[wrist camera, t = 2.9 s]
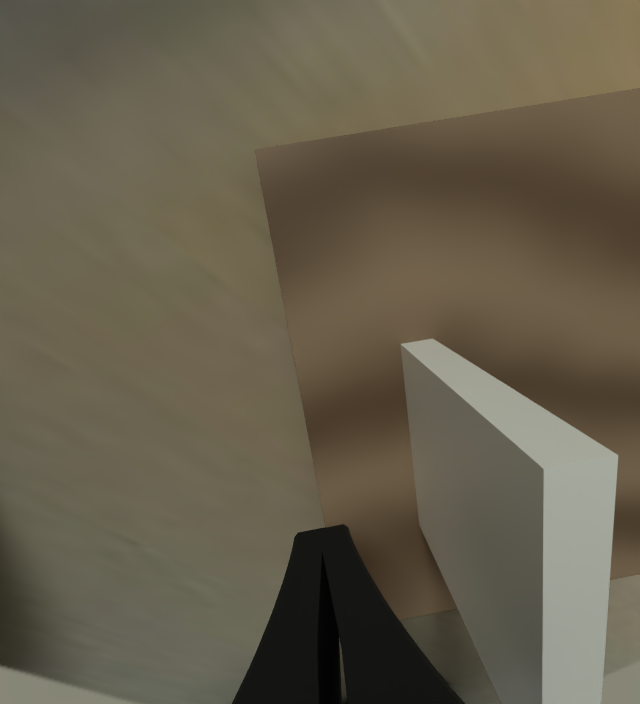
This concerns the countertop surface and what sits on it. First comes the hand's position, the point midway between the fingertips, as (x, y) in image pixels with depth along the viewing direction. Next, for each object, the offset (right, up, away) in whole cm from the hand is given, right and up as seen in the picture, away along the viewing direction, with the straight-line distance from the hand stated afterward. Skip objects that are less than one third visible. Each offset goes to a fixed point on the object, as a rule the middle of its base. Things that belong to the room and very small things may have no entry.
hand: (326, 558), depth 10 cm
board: (+7, +4, +6) cm, 10 cm away
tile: (+4, +2, +5) cm, 7 cm away
